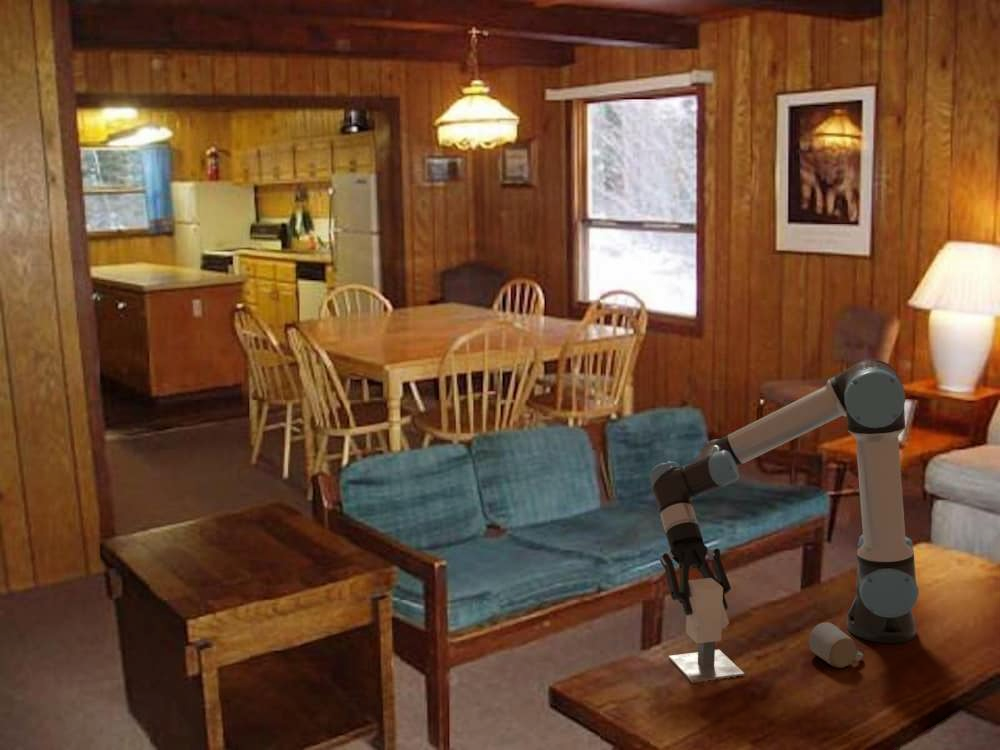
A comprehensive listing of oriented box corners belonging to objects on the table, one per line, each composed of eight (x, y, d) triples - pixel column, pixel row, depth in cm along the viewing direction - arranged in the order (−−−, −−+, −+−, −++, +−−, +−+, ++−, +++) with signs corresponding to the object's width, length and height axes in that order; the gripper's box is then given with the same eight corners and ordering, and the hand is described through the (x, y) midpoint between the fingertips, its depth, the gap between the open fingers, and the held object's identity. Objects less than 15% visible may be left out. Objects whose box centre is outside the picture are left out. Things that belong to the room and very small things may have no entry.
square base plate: (719, 651, 236) (719, 621, 234) (744, 675, 224) (745, 643, 223) (668, 658, 233) (669, 627, 232) (692, 683, 221) (692, 650, 220)
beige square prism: (709, 629, 231) (711, 577, 229) (721, 640, 226) (723, 587, 223) (685, 632, 230) (687, 580, 227) (696, 643, 224) (698, 590, 222)
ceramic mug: (829, 672, 226) (832, 638, 224) (806, 656, 233) (808, 623, 232) (871, 665, 229) (873, 632, 228) (846, 650, 237) (849, 617, 235)
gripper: (714, 532, 241) (745, 629, 229) (637, 539, 237) (665, 638, 224) (725, 517, 235) (758, 615, 223) (647, 524, 231) (676, 625, 218)
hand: (711, 626), depth 223 cm, fingers closed on beige square prism, 6 cm apart
